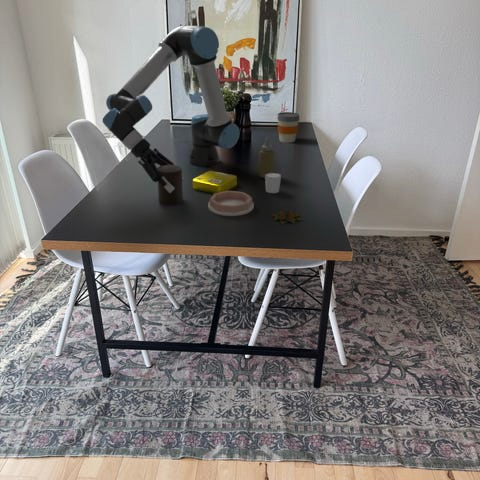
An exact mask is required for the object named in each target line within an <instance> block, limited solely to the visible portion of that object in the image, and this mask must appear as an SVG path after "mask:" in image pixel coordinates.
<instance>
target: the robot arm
mask: <svg viewBox="0 0 480 480" xmlns="http://www.w3.org/2000/svg"><path fill="white" fill-rule="evenodd" d="M219 48H220V42H219V36H218V35H217V34H216V32H215V31H214V30H213V29H212V28H210V27H207V26H203V25H188V24H186V25H185V24H184V25H180V26H177V27H176V28H174V29H173V30H171V31H170V32H168V34H167V35H165V36H164V38H162V39H161V41H160V42H159V43H158V48H157V49H156V50H155V51H154V52H153V54H152V55H151V56H150V57H149V58H148V59H147V60H146V61H145V62H144V63H143V64H142V66H141V67H139V69H138V70H137V71H136V72H135V74H133V75H132V77H130V79H129V80H128V81H127V82H126V83H125V84H124V85H123V87H121V89H119V91H118V92H117V93H111V94H109V95H108V97H107V98H106V100H105V101H106V103H105V105H106V107H107V109H108V112H107V113H105V115H104V116H103V118H102V123H103V125H104V126H105V127H106V129H108V131H110V132H111V133H112V134H113V135H114V136H115V137H116V139H118V140H119V141H120V142H121V143H122V145H123V146H124V147H125V148H127V149H128V150H129V151H130V153H131V154H132V155H133V156H135V158H136V159H139V160H138V161H137V163H138V164H139V165H141V167H142V168H143V169H144V171H145V172H146V173H147V175H148V176H149V178H150V179H151V181H152V182H153V183H154V182H155V183H158V182H159V183H160V184H161V185H162V186H163V187H164V188H165V189H166V190H167V191H168V192H169V193H171V192H172V191H173V190H174V189H175V188H174V187H173V186H172V185H171V184H170V183H169V182H168V181H167V180H166V179H165V178H164V177H162V178H161V175H160V173H159V171H158V169H157V168H158V167H157V165H158V166H159V167H160V166H163V165H175V164H174V162H172V161H171V160H170V159H169V158H168V157H166V156H165V154H163V153H161V152H160V151H159V150H158V149H157V148H156V147H155V148H153V149H152V148H151V144H150V142H149V141H147V139H146V138H144V137H143V135H142V134H141V133H140V132H139V131H138V130H137V129H136V128H135V127H134V126H135V125H137V123H139V122H140V121H141V120H142V119H144V118H145V117H146V116H148V114H150V112H152V110H153V104H152V102H151V100H150V99H149V98H148V97H147V96H146V95H145V93H146V91H147V90H148V89H149V88H150V87H151V85H152V84H153V83H155V81H156V80H157V79H158V78H159V77H160V75H161V74H163V72H164V71H165V70H166V69H167V68H168V67H169V66H170V65H171V63H173V62H176V61H178V59H180V58H181V57H183V56H186V57H187V58H188V61H189V64H190V66H192V67H194V69H195V72H196V73H195V74H196V76H197V81H198V83H199V88H200V91H201V95H202V99H203V102H204V106H205V110H206V113H204V114H197V115H194V116H192V118H191V122H190V123H191V124H190V125H191V142H192V143H191V145H192V146H191V150H190V153H189V154H190V155H189V157H188V159H189V161H188V162H189V163H190V164H191V165H194V166H200V167H210V166H214V165H217V164H218V163H220V154H219V152H218V151H219V150H218V149H217V148H218V147H220V149H231V148H232V147H234V146H235V145H236V144H237V143H238V140H239V138H240V133H241V131H240V129H239V126H238V125H237V124H236V123H233V119H232V115H231V114H229V113H228V112H227V109H226V105H225V100H224V96H223V93H222V89H221V84H220V80H219V77H218V71H217V68H216V64H215V61H216V60H217V58H218V57H217V54H218V52H219ZM184 180H185V178H184V177H183V176H182V182H183V181H184Z"/></svg>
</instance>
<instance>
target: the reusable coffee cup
mask: <svg viewBox="0 0 480 480" xmlns="http://www.w3.org/2000/svg"><path fill="white" fill-rule="evenodd" d="M299 121H300V113H296V112H291V111H290V112H287V111H286V112H285V111H284V112H279V113H277V132H278V137H279V141H280V142H281V143H287V144H289V143H294V142H295V141H296V137H297V134H298V129H299V125H300V124H299Z"/></svg>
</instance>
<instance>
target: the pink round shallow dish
mask: <svg viewBox="0 0 480 480" xmlns="http://www.w3.org/2000/svg"><path fill="white" fill-rule="evenodd" d="M254 207H255V204H254V202H253V196H250V195H249V194H248V193H246V192H243V191H237V190H236V191H235V190H228V191H224V192H219V193H215V194H212V196H211V197H210V198H209V202H208V204H207V208H208V211H210V212H211V213H213V214H216V215H219V216H224V217H238V216H244V215H247V214H249V213H251V212H253V210H254Z"/></svg>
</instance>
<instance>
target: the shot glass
mask: <svg viewBox="0 0 480 480" xmlns="http://www.w3.org/2000/svg"><path fill="white" fill-rule="evenodd" d="M281 178H282V174H280V173H276V172H274V173H268V174H265V178H264V180H265V181H264V183H265V192H266V193H269V194H276V193H279V192H280V185H281Z"/></svg>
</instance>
